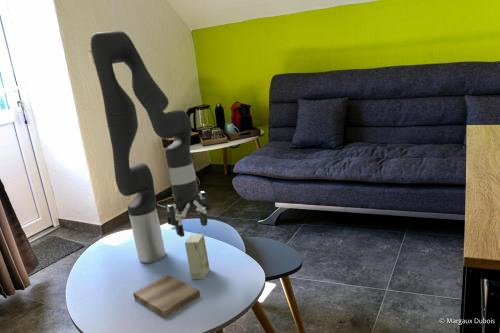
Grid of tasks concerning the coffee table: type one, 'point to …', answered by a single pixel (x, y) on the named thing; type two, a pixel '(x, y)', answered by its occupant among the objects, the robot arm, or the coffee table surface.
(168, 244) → the coffee table surface
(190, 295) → the walnut board
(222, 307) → the coffee table surface
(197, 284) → the coffee table surface
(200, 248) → the skincare box
